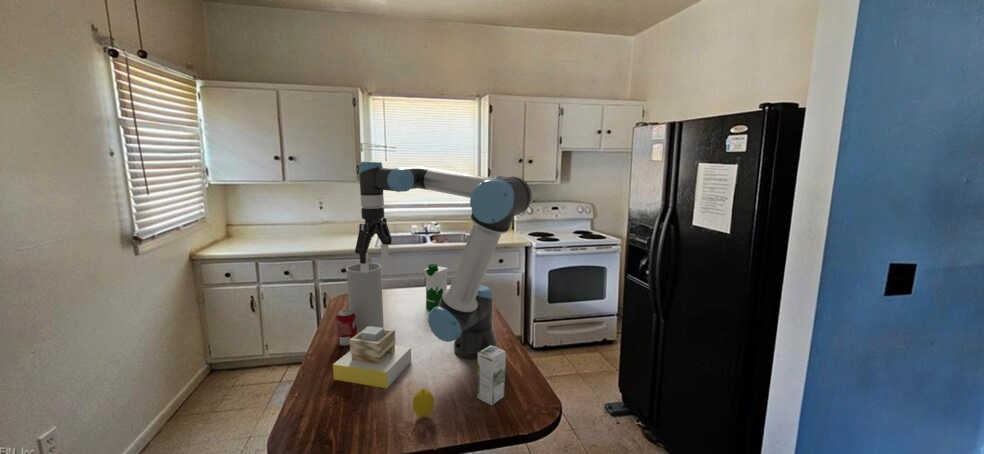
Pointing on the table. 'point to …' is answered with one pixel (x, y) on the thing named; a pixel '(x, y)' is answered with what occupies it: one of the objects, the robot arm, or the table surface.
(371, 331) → the cargo block
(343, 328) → the soda can
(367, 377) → the dock
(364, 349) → the wooden crate with cube
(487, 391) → the syrup box
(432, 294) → the milk carton
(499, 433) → the table surface
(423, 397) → the lemon
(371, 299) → the cylinder vase
